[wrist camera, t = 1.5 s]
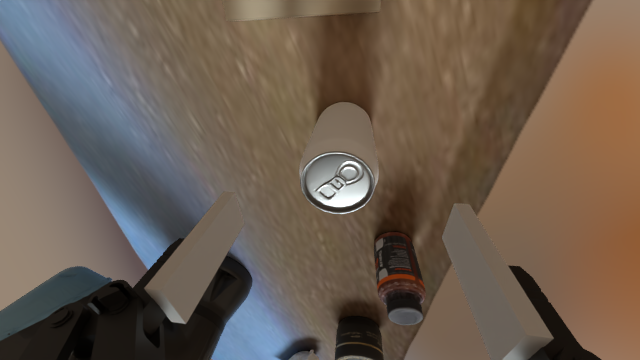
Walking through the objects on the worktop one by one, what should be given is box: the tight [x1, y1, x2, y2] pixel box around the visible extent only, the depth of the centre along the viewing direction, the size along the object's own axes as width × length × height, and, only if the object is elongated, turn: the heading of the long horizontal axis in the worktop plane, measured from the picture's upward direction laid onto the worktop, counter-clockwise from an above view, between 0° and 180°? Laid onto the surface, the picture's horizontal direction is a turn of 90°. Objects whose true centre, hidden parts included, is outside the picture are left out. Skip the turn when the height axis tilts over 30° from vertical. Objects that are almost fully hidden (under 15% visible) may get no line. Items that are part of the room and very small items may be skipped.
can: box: [299, 102, 379, 214], centre depth 22 cm, size 6×6×12 cm
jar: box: [335, 316, 384, 360], centre depth 49 cm, size 10×10×8 cm
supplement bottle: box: [374, 232, 426, 325], centre depth 32 cm, size 6×6×11 cm
